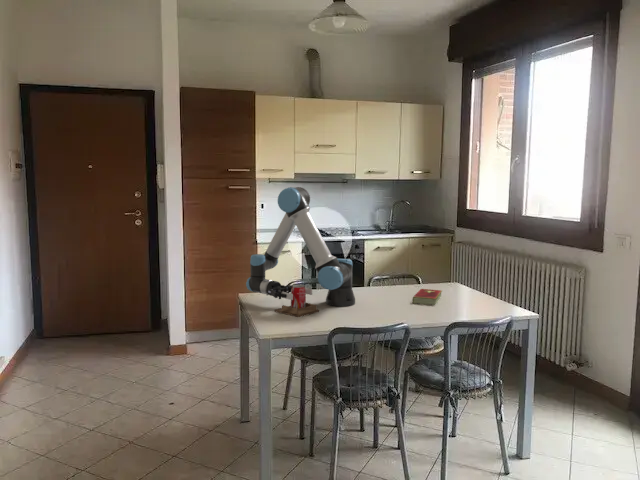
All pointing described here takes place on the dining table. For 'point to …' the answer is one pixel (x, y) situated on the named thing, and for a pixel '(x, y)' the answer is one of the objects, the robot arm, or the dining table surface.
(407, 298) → the dining table surface
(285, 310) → the keeper cradle
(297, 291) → the soda can
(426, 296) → the hardcover book
